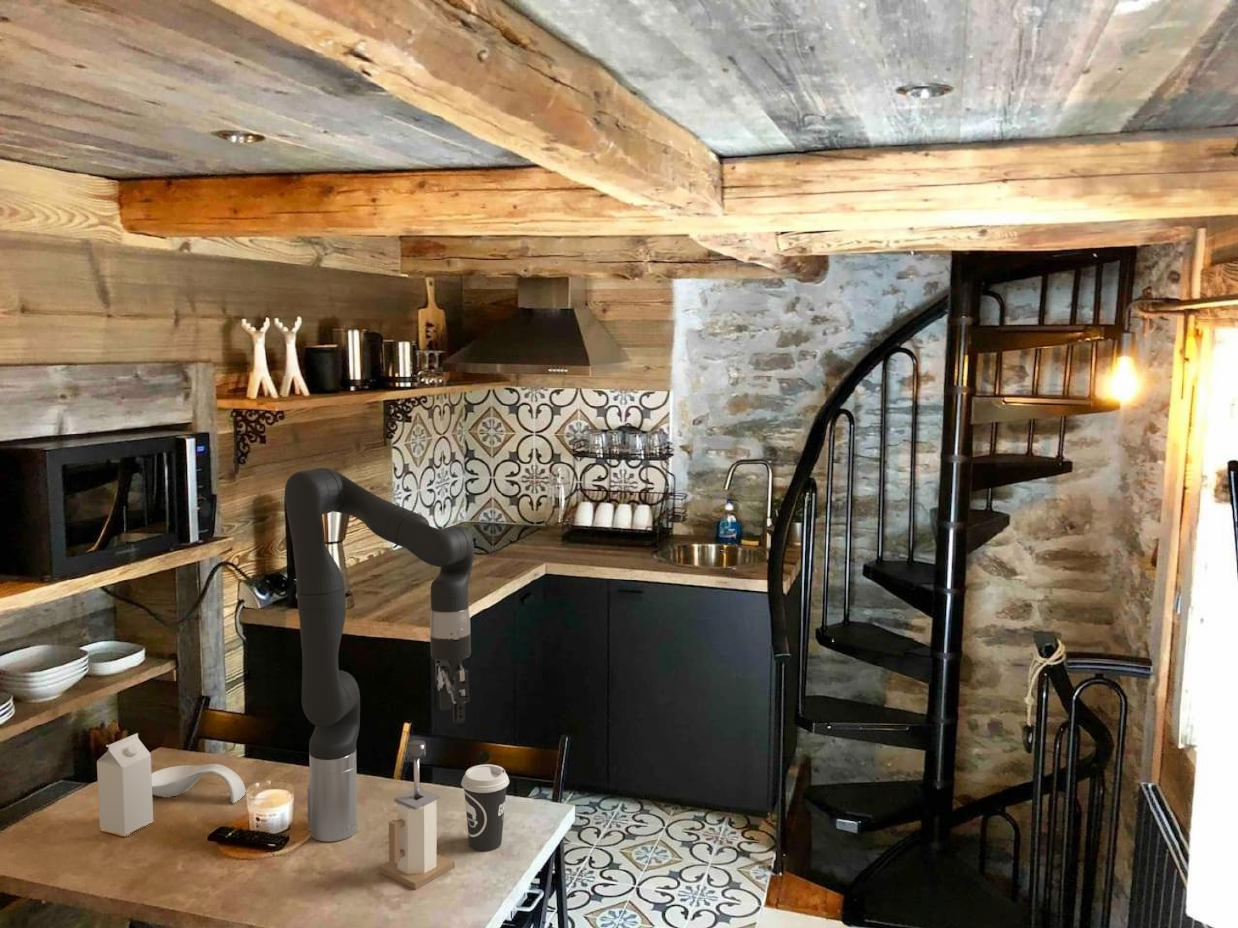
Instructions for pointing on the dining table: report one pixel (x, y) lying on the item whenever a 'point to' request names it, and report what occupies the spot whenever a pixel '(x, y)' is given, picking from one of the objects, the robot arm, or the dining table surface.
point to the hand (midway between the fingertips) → (452, 715)
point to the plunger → (416, 761)
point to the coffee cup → (485, 805)
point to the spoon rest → (194, 779)
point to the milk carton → (125, 786)
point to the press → (415, 842)
